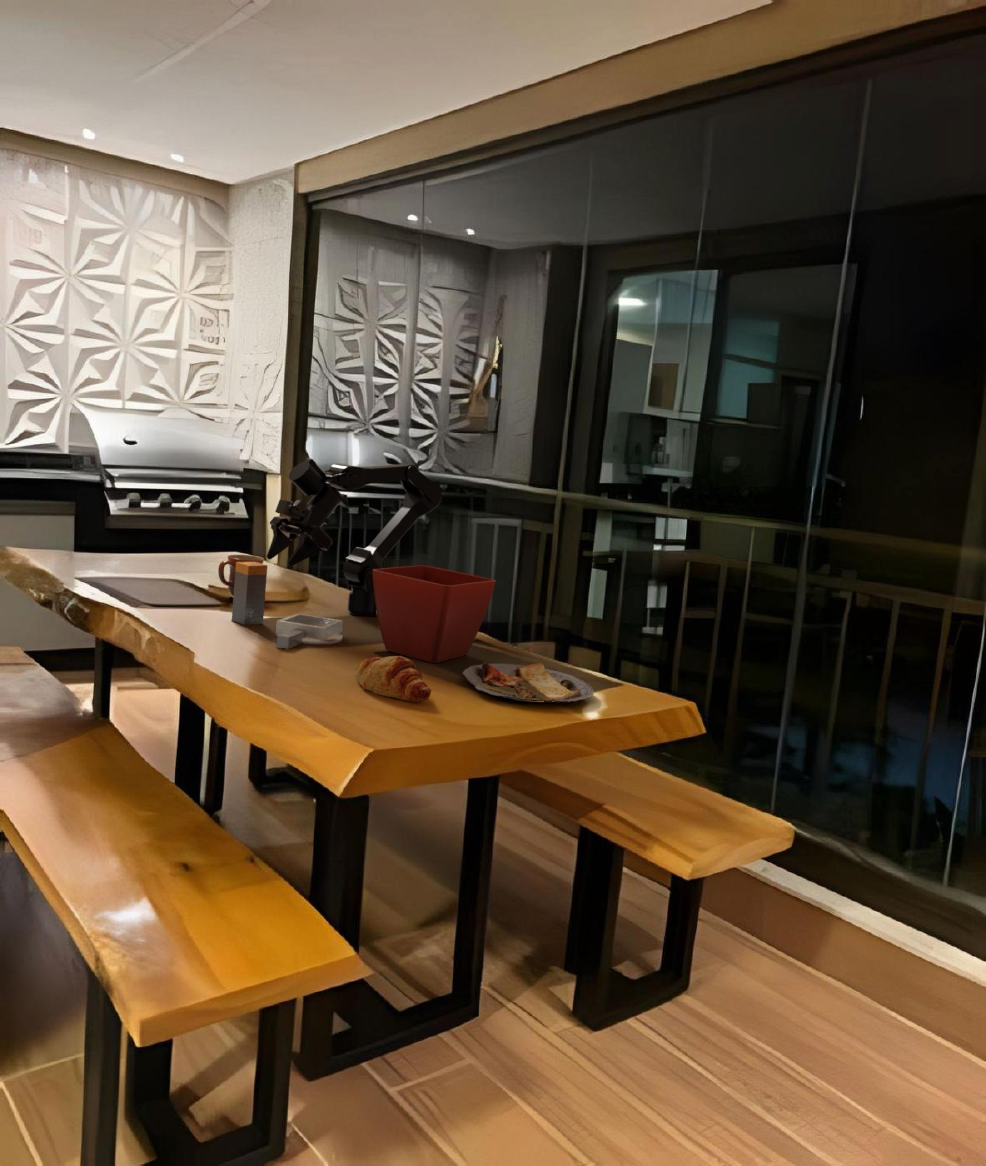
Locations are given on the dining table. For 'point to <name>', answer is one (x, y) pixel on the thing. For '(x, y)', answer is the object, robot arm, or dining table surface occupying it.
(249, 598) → the orange square peg
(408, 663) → the croissant
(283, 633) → the square socket
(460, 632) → the plant pot
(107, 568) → the dining table surface
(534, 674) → the food plate
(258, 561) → the mug
